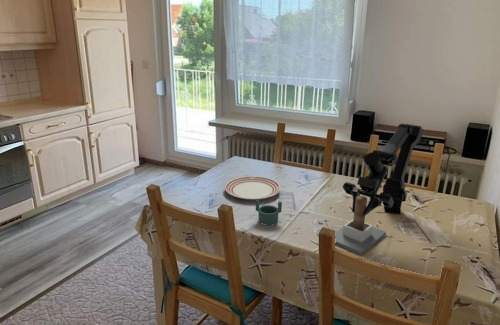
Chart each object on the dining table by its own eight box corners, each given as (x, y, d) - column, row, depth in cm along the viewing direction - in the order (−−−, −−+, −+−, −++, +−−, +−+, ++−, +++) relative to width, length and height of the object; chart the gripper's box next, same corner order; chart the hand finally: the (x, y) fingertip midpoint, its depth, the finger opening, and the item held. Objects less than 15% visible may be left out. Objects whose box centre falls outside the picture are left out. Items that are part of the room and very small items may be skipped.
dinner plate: (272, 207, 163) (272, 201, 162) (216, 199, 171) (216, 192, 170) (285, 185, 188) (286, 179, 187) (236, 179, 196) (236, 173, 195)
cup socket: (353, 222, 150) (354, 211, 149) (385, 234, 141) (387, 222, 140) (326, 240, 137) (328, 228, 135) (361, 255, 128) (362, 242, 126)
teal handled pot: (283, 222, 150) (283, 202, 148) (264, 227, 146) (265, 207, 143) (270, 213, 158) (271, 194, 155) (252, 218, 153) (253, 199, 150)
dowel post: (360, 225, 140) (363, 195, 136) (365, 230, 136) (369, 200, 132) (350, 226, 139) (354, 196, 135) (355, 231, 136) (359, 200, 132)
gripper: (347, 162, 139) (329, 197, 135) (394, 174, 127) (376, 213, 123) (355, 176, 147) (338, 209, 143) (400, 188, 135) (384, 225, 131)
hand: (358, 213), depth 135 cm, fingers closed on dowel post, 4 cm apart
